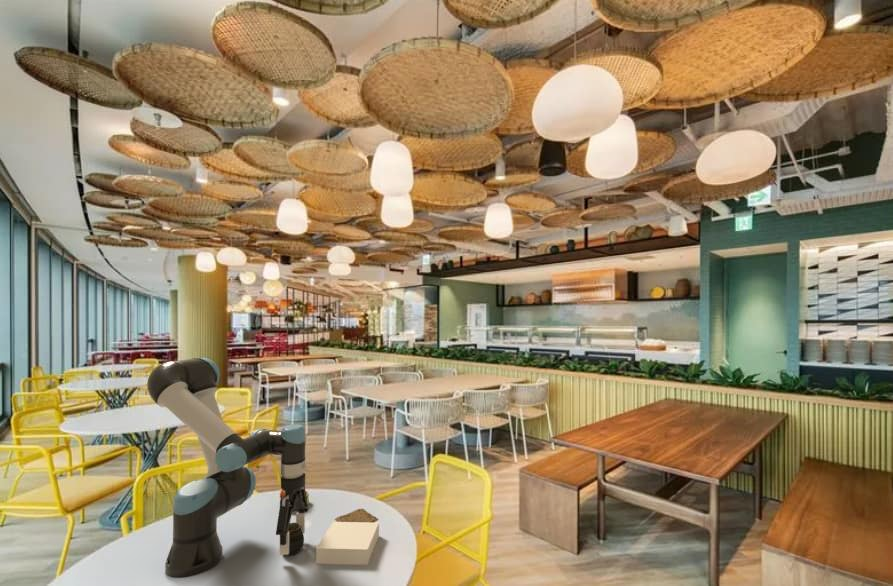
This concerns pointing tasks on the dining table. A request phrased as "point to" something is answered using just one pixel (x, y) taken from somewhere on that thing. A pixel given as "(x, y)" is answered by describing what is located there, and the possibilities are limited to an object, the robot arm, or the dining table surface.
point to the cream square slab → (348, 543)
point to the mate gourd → (295, 538)
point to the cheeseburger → (284, 496)
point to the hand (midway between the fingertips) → (292, 543)
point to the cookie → (357, 517)
